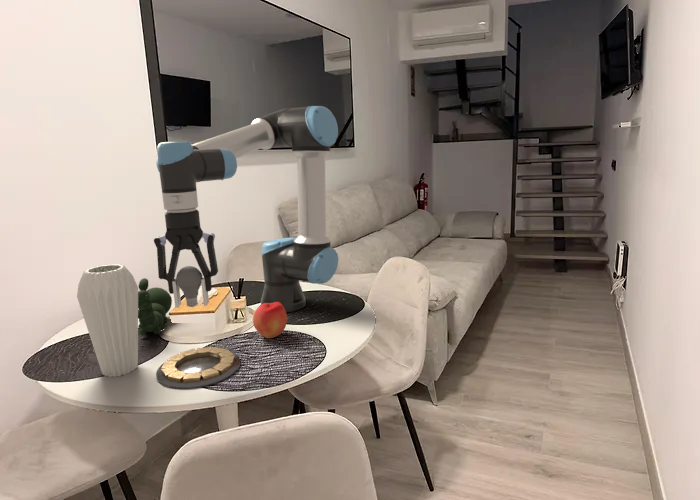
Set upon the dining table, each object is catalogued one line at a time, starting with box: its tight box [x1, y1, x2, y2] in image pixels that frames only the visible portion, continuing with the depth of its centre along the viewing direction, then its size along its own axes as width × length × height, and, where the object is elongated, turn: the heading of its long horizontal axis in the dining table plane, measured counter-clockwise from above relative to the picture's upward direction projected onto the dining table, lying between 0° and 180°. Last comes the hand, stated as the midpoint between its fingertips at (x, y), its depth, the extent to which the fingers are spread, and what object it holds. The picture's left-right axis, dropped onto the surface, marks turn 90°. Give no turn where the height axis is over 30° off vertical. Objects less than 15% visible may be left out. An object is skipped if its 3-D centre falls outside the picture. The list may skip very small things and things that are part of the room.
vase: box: [76, 263, 139, 378], centre depth 117 cm, size 13×13×26 cm
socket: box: [155, 346, 241, 390], centre depth 118 cm, size 20×20×2 cm
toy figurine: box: [138, 277, 173, 336], centre depth 145 cm, size 9×19×25 cm
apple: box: [252, 302, 288, 339], centre depth 136 cm, size 10×10×10 cm
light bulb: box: [175, 265, 203, 308], centre depth 114 cm, size 6×6×10 cm
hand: (192, 304), depth 115 cm, fingers closed on light bulb, 6 cm apart
